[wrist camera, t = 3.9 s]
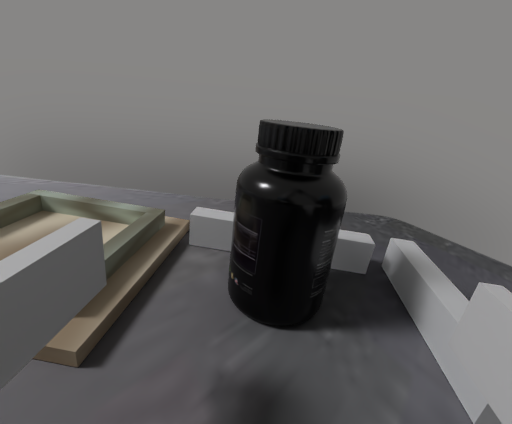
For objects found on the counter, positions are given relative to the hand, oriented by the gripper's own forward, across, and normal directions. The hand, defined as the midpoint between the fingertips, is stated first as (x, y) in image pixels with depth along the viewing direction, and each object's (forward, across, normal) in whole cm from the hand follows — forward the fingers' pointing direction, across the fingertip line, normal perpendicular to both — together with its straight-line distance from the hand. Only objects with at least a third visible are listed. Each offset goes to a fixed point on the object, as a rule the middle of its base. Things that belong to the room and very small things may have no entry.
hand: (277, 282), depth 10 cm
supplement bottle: (+8, 0, -7) cm, 11 cm away
